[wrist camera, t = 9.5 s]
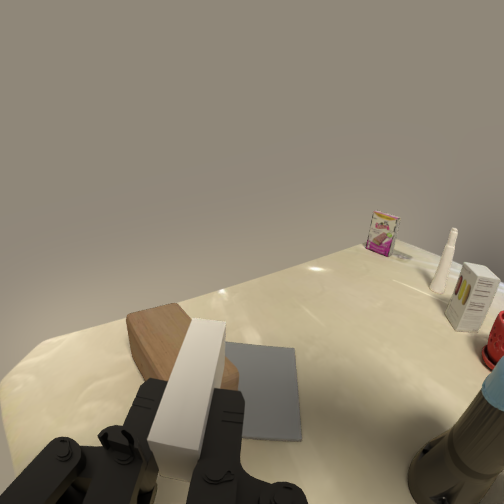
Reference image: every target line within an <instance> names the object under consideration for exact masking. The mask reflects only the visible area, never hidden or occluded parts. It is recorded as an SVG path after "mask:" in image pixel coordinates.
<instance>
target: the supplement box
mask: <svg viewBox="0 0 504 504" xmlns="http://www.w3.org/2000/svg"><path fill="white" fill-rule="evenodd" d="M499 283H500V279H499V278H498V277H497V276H495V274H493V273H492V272H491V271H490V270H489V269H488V268H487V267H486V266H482V265H477V264H472V263H467V262H464V264H463V266H462V270H461V272H460V275H459V278H458V281H457V284H456V287H455V289H454V292H453V295H452V297H451V300H450V302H449V305H448V307H447V310H446V312H445V315H446V316H447V318H448V320H449V321H450V323H451V325H452V326H453V328H454V330H455V331H461V332H477V333H478V332H479V330H480V328H481V326H482V323H483V321H484V319H485V317H486V315H487V312H488V310H489V308H490V305H491V303H492V301H493V298H494V296H495V293H496V291H497V288H498V286H499Z"/></svg>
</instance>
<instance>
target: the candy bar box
mask: <svg viewBox="0 0 504 504" xmlns="http://www.w3.org/2000/svg"><path fill="white" fill-rule="evenodd" d="M400 219H401V218H400V217H397V216H394V215H391V214H388V213H385V212H382V211H379V210H377V211H374V212H373V216H372V221H371V226H370V231H369V236H368V240H367V244H366V249H369V250H372V251H374V252H377V253H379V254H382V255H384V256H387V257H389V256H390V255H392V252H393V248H394V244H395V240H396V236H397V232H398V228H399V224H400Z"/></svg>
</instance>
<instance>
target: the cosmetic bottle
mask: <svg viewBox="0 0 504 504" xmlns="http://www.w3.org/2000/svg"><path fill="white" fill-rule="evenodd" d="M457 231H458V229H456V228H452V230H451V231H450V235H449V239H448V243H447V244H446V245H445V248H444V251H443V254H442V257H441V260H440V263H439V266H438V268H437V271H436V273H435V276H434V278H433V280H432V282H431V284H430V286H429V288H430V290H432V291H433V292H435V293H438V294H443V293H444V291H445V286H446V282H447V278H448V274H449V270H450V266H451V263H452V259H453V255H454V251H455V247H454V246H455V242H456V238H457V235H458V233H457Z"/></svg>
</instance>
